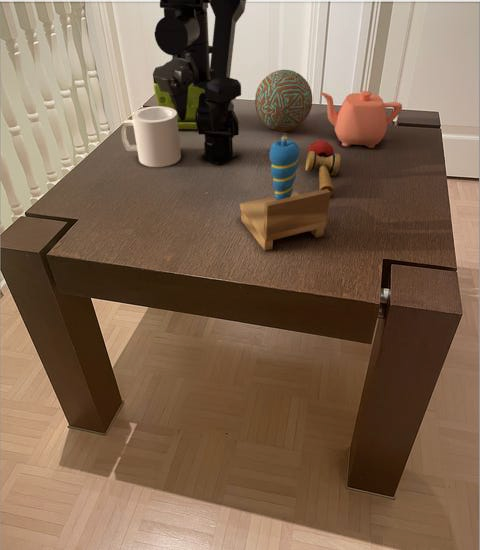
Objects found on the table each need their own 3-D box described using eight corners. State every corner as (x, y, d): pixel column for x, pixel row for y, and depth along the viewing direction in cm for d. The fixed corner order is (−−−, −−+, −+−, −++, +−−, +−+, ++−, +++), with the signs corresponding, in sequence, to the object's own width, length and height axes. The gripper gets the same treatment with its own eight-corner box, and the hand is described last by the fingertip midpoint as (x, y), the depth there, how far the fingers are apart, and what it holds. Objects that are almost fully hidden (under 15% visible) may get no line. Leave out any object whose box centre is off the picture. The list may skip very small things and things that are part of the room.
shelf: (240, 218, 90) (239, 174, 83) (294, 206, 93) (297, 163, 87) (265, 252, 81) (267, 206, 75) (324, 237, 84) (330, 191, 78)
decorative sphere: (273, 114, 132) (275, 59, 123) (319, 126, 126) (325, 68, 116) (243, 131, 123) (243, 73, 114) (291, 144, 116) (295, 83, 107)
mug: (121, 167, 107) (112, 122, 100) (129, 148, 115) (122, 106, 108) (178, 166, 107) (174, 122, 100) (183, 148, 115) (179, 106, 108)
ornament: (300, 214, 84) (307, 136, 74) (276, 221, 82) (280, 142, 73) (286, 201, 88) (291, 125, 78) (262, 208, 86) (264, 130, 76)
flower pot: (209, 133, 122) (207, 84, 114) (157, 133, 123) (151, 84, 115) (212, 114, 133) (210, 68, 125) (165, 114, 133) (160, 68, 125)
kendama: (347, 202, 96) (337, 155, 109) (346, 178, 92) (336, 131, 104) (310, 207, 98) (304, 159, 110) (307, 183, 93) (302, 136, 105)
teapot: (316, 128, 124) (321, 81, 117) (392, 132, 122) (401, 85, 114) (315, 148, 114) (320, 99, 107) (397, 153, 112) (408, 103, 104)
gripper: (125, 41, 83) (137, 126, 93) (197, 59, 73) (203, 151, 83) (170, 31, 89) (178, 111, 99) (243, 46, 80) (243, 132, 90)
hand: (198, 125), depth 93 cm, fingers open, 9 cm apart
